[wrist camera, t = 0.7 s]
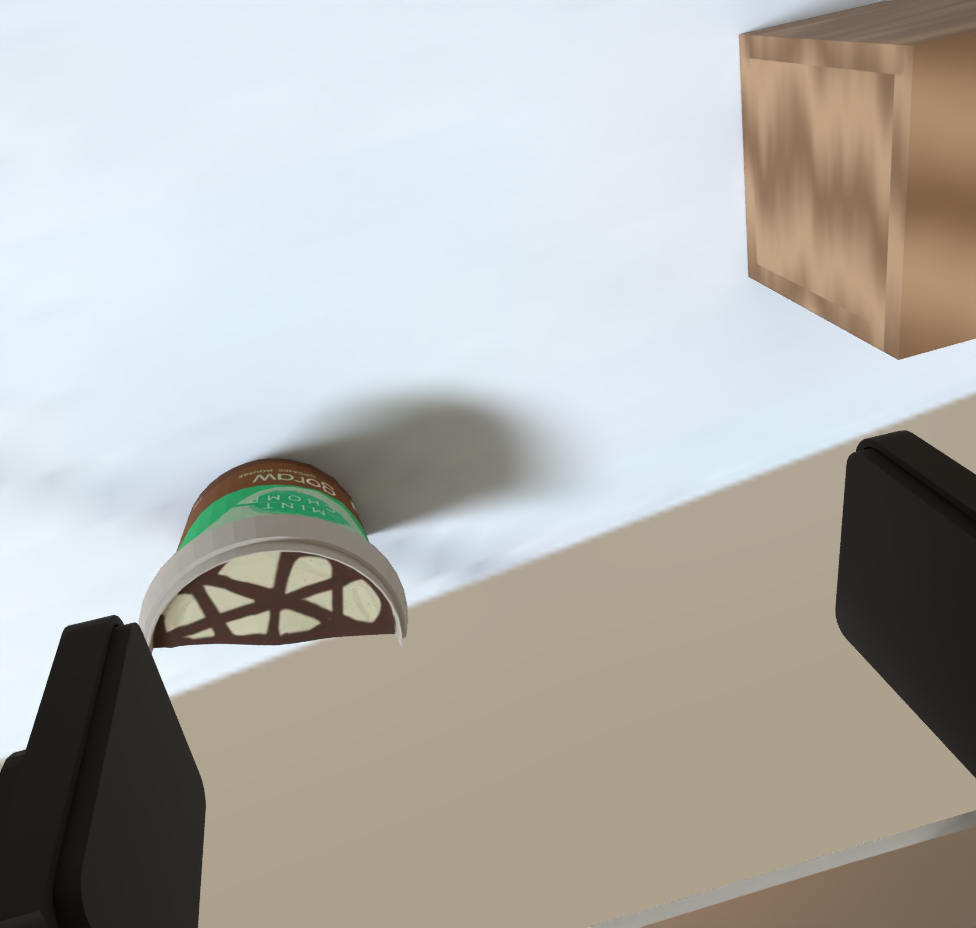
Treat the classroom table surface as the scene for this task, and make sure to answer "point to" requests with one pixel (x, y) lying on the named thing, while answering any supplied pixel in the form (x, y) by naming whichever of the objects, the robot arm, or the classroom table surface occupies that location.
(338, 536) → the food container
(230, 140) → the classroom table surface
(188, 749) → the robot arm
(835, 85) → the cabinet
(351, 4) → the classroom table surface
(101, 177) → the classroom table surface
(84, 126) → the classroom table surface
